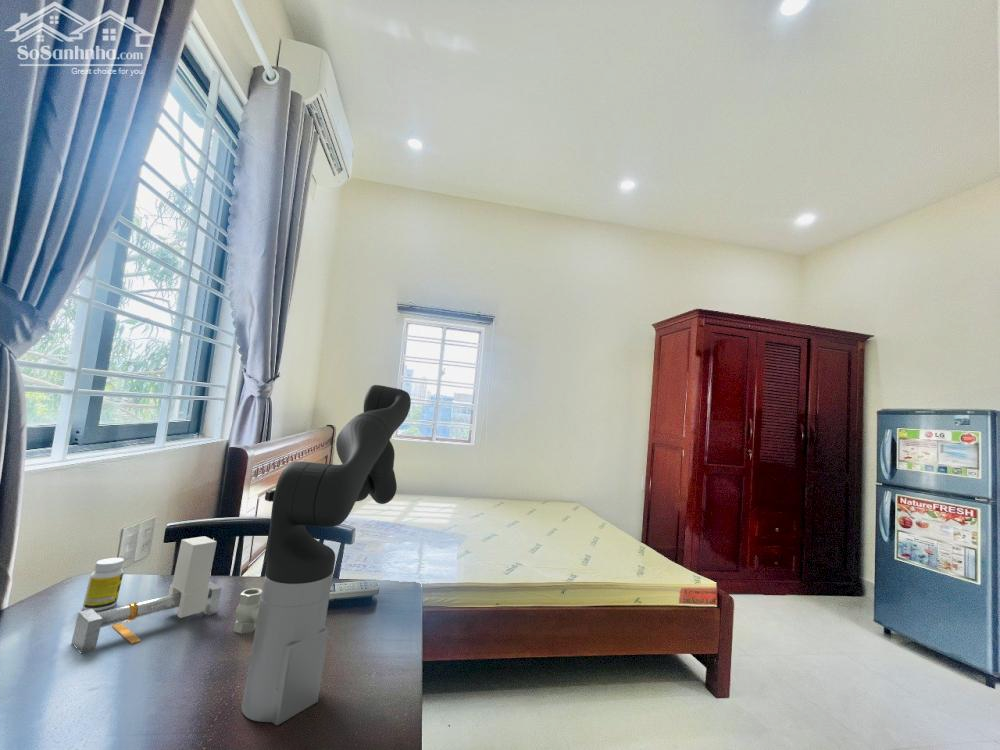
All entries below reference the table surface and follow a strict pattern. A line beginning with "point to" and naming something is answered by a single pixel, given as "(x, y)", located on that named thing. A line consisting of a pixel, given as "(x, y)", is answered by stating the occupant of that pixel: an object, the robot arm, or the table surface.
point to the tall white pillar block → (193, 574)
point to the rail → (129, 617)
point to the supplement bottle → (104, 584)
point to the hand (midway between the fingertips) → (267, 496)
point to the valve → (247, 610)
